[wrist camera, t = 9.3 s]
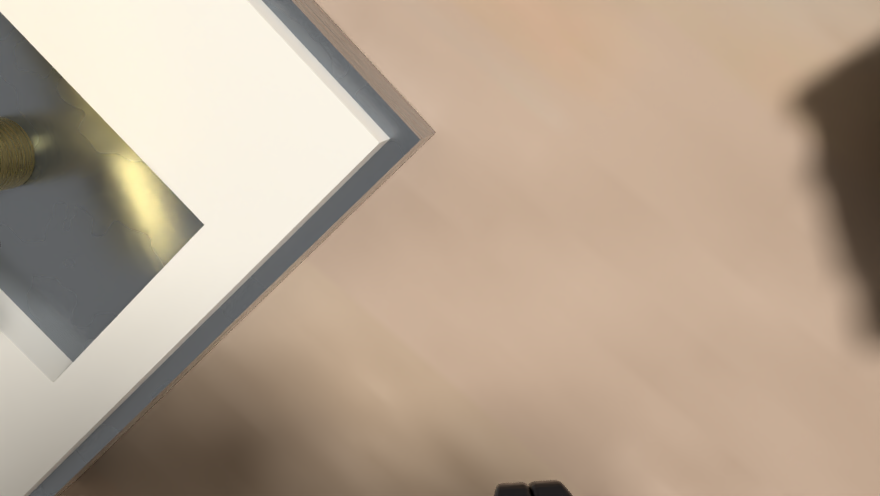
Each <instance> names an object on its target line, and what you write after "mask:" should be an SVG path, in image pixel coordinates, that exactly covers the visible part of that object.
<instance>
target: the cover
mask: <svg viewBox="0 0 880 496" xmlns="http://www.w3.org/2000/svg"><path fill="white" fill-rule="evenodd" d="M0 12H1V13H2V14H3V15H4V16H5V17H6V18H7V19H8V20H9V21H10V22H11V23H12V24H13V26H14V27H15V28H16V29H17V30H18V31H19V32H20V33H21V34H22V35H23V36H24V37H25V38H26V39H27V40H28V41H29V42H30V43H31V44H32V45H33V46H34V47H35V49H36V50H37V51H38V52H39V53H40V54H41V55H42V56H43V57H44V58H45V59H46V60H47V61H48V62H49V63H50V64H51V65H52V66H53V67H54V68H55V69H56V70H57V71H58V73H59V74H60V75H61V76H62V77H63V78H64V79H65V80H66V81H67V82H68V83H69V84H70V85H71V86H72V87H73V88H74V89H75V90H76V91H77V92H78V93H79V94H80V95H81V97H82V98H83V99H84V100H85V101H86V102H87V103H88V104H89V105H90V106H91V107H92V108H93V109H94V110H95V111H96V112H97V113H98V114H99V115H100V116H101V117H102V118H103V120H104V121H105V122H106V123H107V124H108V125H109V126H110V127H111V128H112V129H113V130H114V131H115V132H116V133H117V134H118V135H119V136H120V137H121V138H122V139H123V140H124V141H125V142H126V144H127V145H128V146H129V147H130V148H131V149H132V150H133V151H134V152H135V153H136V154H137V155H138V156H139V157H140V158H141V159H142V160H143V161H144V162H145V163H146V164H147V165H148V166H149V168H150V169H151V170H152V171H153V172H154V173H155V174H156V175H157V176H158V177H159V178H160V179H161V180H162V181H163V182H164V183H165V184H166V185H167V186H168V187H169V188H170V189H171V190H172V192H173V193H174V194H175V195H176V196H177V197H178V198H179V199H180V200H181V201H182V202H183V203H184V204H185V205H186V206H187V207H188V208H189V209H190V210H191V211H192V212H193V213H194V215H195V216H196V217H197V218H198V219H199V220H200V221H201V222H202V223H203V224H204V226H203V227H202V228H201V229H200V230H199V231H198V232H197V233H196V234H195V235H194V236H193V237H192V238H191V239H190V240H189V241H188V242H187V243H186V245H185V246H184V247H183V248H182V249H181V250H180V251H179V252H178V253H177V254H176V255H175V256H174V257H173V258H172V259H171V260H170V261H169V262H168V263H167V264H166V265H165V267H164V268H163V269H162V270H161V271H160V272H159V273H158V274H157V275H156V276H155V277H154V278H153V279H152V280H151V281H150V282H149V283H148V284H147V285H146V286H145V287H144V289H143V290H142V291H141V292H140V293H139V294H138V295H137V296H136V297H135V298H134V299H133V300H132V301H131V302H130V303H129V304H128V305H127V306H126V307H125V308H124V309H123V311H122V312H121V313H120V314H119V315H118V316H117V317H116V318H115V319H114V320H113V321H112V322H111V323H110V324H109V325H108V326H107V327H106V328H105V329H104V330H103V331H102V333H101V334H100V335H99V336H98V337H97V338H96V339H95V340H94V341H93V342H92V343H91V344H90V345H89V346H88V347H87V348H86V349H85V350H84V351H83V352H82V353H81V354H80V356H79V357H78V358H77V359H76V360H75V361H74V362H72V361H71V360H70V359H69V358H68V357H67V356H66V355H65V354H64V353H63V352H62V351H61V350H60V349H59V348H58V347H57V346H56V345H55V344H54V343H53V342H52V341H51V340H50V339H49V338H48V337H47V336H46V335H45V334H44V332H43V331H42V330H41V329H40V328H39V327H38V326H37V325H36V324H35V323H34V322H33V321H32V320H31V319H30V318H29V317H28V316H27V315H26V314H25V313H24V312H23V311H22V310H21V309H20V308H19V307H18V306H17V305H16V304H15V303H14V302H13V301H12V300H11V299H10V298H9V297H8V296H7V295H6V294H5V293H4V292H3V291H2V290H1V289H0V496H29V495H30V494H31V493H32V492H33V491H34V490H35V489H36V488H37V487H38V486H39V485H40V484H41V483H42V482H43V481H44V480H45V479H46V478H47V477H48V476H49V475H50V474H51V473H52V472H53V471H54V470H55V469H56V468H57V467H58V466H59V465H60V464H61V463H62V462H63V461H64V460H65V459H66V458H67V457H68V456H69V455H70V454H72V453H73V452H74V451H75V450H76V449H77V448H78V447H79V446H80V445H81V444H82V443H83V442H84V441H85V440H86V439H87V438H88V437H89V436H90V435H91V434H92V433H93V432H94V431H95V430H96V429H97V428H98V427H99V426H100V425H101V424H102V423H103V422H104V421H105V420H106V419H107V418H108V417H109V416H110V415H111V414H112V413H113V412H114V411H115V410H116V409H117V408H118V407H119V406H120V405H121V404H122V403H123V402H124V401H125V400H126V399H127V398H128V397H129V396H130V395H131V394H132V393H133V392H134V391H135V390H136V389H137V388H138V387H139V386H140V385H141V384H142V383H143V382H144V381H145V380H146V379H147V378H148V377H149V376H150V375H151V374H153V373H154V372H155V371H156V370H157V369H158V368H159V367H160V366H161V365H162V364H163V363H164V362H165V361H166V360H167V359H168V358H169V357H170V356H171V355H172V354H173V353H174V352H175V351H176V350H177V349H178V348H179V347H180V346H181V345H182V344H183V343H184V342H185V341H186V340H187V339H188V338H189V337H190V336H191V335H192V334H193V333H194V332H195V331H196V330H197V329H198V328H199V327H200V326H201V325H202V324H203V323H204V322H205V321H206V320H207V319H208V318H209V317H210V316H211V315H212V314H213V313H214V312H215V311H216V310H217V309H218V308H219V307H220V306H221V305H222V304H223V303H224V302H225V301H226V300H227V299H228V298H229V297H230V296H231V295H232V294H234V293H235V292H236V291H237V290H238V289H239V288H240V287H241V286H242V285H243V284H244V283H245V282H246V281H247V280H248V279H249V278H250V277H251V276H252V275H253V274H254V273H255V272H256V271H257V270H258V269H259V268H260V267H261V266H262V265H263V264H264V263H265V262H266V261H267V260H268V259H269V258H270V257H271V256H272V255H273V254H274V253H275V252H276V251H277V250H278V249H279V248H280V247H281V246H282V245H283V244H284V243H285V242H286V241H287V240H288V239H289V238H290V237H291V236H292V235H293V234H294V233H295V232H296V231H297V230H298V229H299V228H300V227H301V226H302V225H303V224H304V223H305V222H306V221H307V220H308V219H309V218H310V217H311V216H312V215H313V214H314V213H316V212H317V211H318V210H319V209H320V208H321V207H322V206H323V205H324V204H325V203H326V202H327V201H328V200H329V199H330V198H331V197H332V196H333V195H334V194H335V193H336V192H337V191H338V190H339V189H340V188H341V187H342V186H343V185H344V184H345V183H346V182H347V181H348V180H349V179H350V178H351V177H352V176H353V175H354V174H355V173H356V172H357V171H358V170H359V169H360V168H361V167H362V166H363V165H364V164H365V163H366V162H367V161H368V160H369V159H370V158H371V157H372V156H373V155H374V154H375V153H376V152H377V151H378V150H379V149H380V148H381V147H382V146H383V145H384V144H385V143H386V142H387V141H388V140H389V139H390V138H389V137H388V136H387V135H386V133H385V132H384V131H383V130H382V129H381V128H380V127H379V126H378V125H377V124H376V123H375V122H374V121H373V119H372V118H371V117H370V116H369V115H368V114H367V113H366V112H365V111H364V110H363V109H362V108H361V107H360V105H359V104H358V103H357V102H356V101H355V100H354V99H353V98H352V97H351V96H350V95H349V94H348V93H347V91H346V90H345V89H344V88H343V87H342V86H341V85H340V84H339V83H338V82H337V81H336V80H335V79H334V77H333V76H332V75H331V74H330V73H329V72H328V71H327V70H326V69H325V68H324V67H323V66H322V65H321V63H320V62H319V61H318V60H317V59H316V58H315V57H314V56H313V55H312V54H311V53H310V52H309V51H308V49H307V48H306V47H305V46H304V45H303V44H302V43H301V42H300V41H299V40H298V39H297V38H296V37H295V35H294V34H293V33H292V32H291V31H290V30H289V29H288V28H287V27H286V26H285V25H284V24H283V23H282V21H281V20H280V19H279V18H278V17H277V16H276V15H275V14H274V13H273V12H272V11H271V10H270V9H269V7H268V6H267V5H266V4H265V3H264V2H263V1H262V0H0Z"/></svg>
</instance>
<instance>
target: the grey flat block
mask: <svg viewBox="0 0 880 496" xmlns="http://www.w3.org/2000/svg"><path fill="white" fill-rule="evenodd" d="M262 1H263V2H264V3H265V4H266V5H267V6H268V7H269V9H270V10H271V11H272V12H273V13H274V14H275V15H276V16H277V17H278V18H279V19H280V20H281V21H282V23H283V24H284V25H285V26H286V27H287V28H288V29H289V30H290V31H291V32H292V33H293V34H294V35H295V37H296V38H297V39H298V40H299V41H300V42H301V43H302V44H303V45H304V46H305V47H306V48H307V49H308V51H309V52H310V53H311V54H312V55H313V56H314V57H315V58H316V59H317V60H318V61H319V62H320V63H321V65H322V66H323V67H324V68H325V69H326V70H327V71H328V72H329V73H330V74H331V75H332V76H333V77H334V79H335V80H336V81H337V82H338V83H339V84H340V85H341V86H342V87H343V88H344V89H345V90H346V91H347V93H348V94H349V95H350V96H351V97H352V98H353V99H354V100H355V101H356V102H357V103H358V104H359V105H360V107H361V108H362V109H363V110H364V111H365V112H366V113H367V114H368V115H369V116H370V117H371V118H372V119H373V121H374V122H375V123H376V124H377V125H378V126H379V127H380V128H381V129H382V130H383V131H384V132H385V133H386V135H387V136H388V137H389V138H390V139H389V140H388V141H387V142H386V143H385V144H384V145H383V146H382V147H381V148H380V149H379V150H378V151H377V152H376V153H375V154H374V155H373V156H372V157H371V158H370V159H369V160H368V161H367V162H366V163H365V164H364V165H363V166H362V167H361V168H360V169H359V170H358V171H357V172H356V173H355V174H354V175H353V176H352V177H351V178H350V179H349V180H348V181H347V182H346V183H345V184H344V185H343V186H342V187H341V188H340V189H339V190H338V191H337V192H336V193H335V194H334V195H333V196H332V197H331V198H330V199H329V200H328V201H327V202H326V203H325V204H324V205H323V206H322V207H321V208H320V209H319V210H318V211H317V212H316V213H314V214H313V215H312V216H311V217H310V218H309V219H308V220H307V221H306V222H305V223H304V224H303V225H302V226H301V227H300V228H299V229H298V230H297V231H296V232H295V233H294V234H293V235H292V236H291V237H290V238H289V239H288V240H287V241H286V242H285V243H284V244H283V245H282V246H281V247H280V248H279V249H278V250H277V251H276V252H275V253H274V254H273V255H272V256H271V257H270V258H269V259H268V260H267V261H266V262H265V263H264V264H263V265H262V266H261V267H260V268H259V269H258V270H257V271H256V272H255V273H254V274H253V275H252V276H251V277H250V278H249V279H248V280H247V281H246V282H245V283H244V284H243V285H242V286H241V287H240V288H239V289H238V290H237V291H236V292H235V293H234V294H232V295H231V296H230V297H229V298H228V299H227V300H226V301H225V302H224V303H223V304H222V305H221V306H220V307H219V308H218V309H217V310H216V311H215V312H214V313H213V314H212V315H211V316H210V317H209V318H208V319H207V320H206V321H205V322H204V323H203V324H202V325H201V326H200V327H199V328H198V329H197V330H196V331H195V332H194V333H193V334H192V335H191V336H190V337H189V338H188V339H187V340H186V341H185V342H184V343H183V344H182V345H181V346H180V347H179V348H178V349H177V350H176V351H175V352H174V353H173V354H172V355H171V356H170V357H169V358H168V359H167V360H166V361H165V362H164V363H163V364H162V365H161V366H160V367H159V368H158V369H157V370H156V371H155V372H154V373H153V374H151V375H150V376H149V377H148V378H147V379H146V380H145V381H144V382H143V383H142V384H141V385H140V386H139V387H138V388H137V389H136V390H135V391H134V392H133V393H132V394H131V395H130V396H129V397H128V398H127V399H126V400H125V401H124V402H123V403H122V404H121V405H120V406H119V407H118V408H117V409H116V410H115V411H114V412H113V413H112V414H111V415H110V416H109V417H108V418H107V419H106V420H105V421H104V422H103V423H102V424H101V425H100V426H99V427H98V428H97V429H96V430H95V431H94V432H93V433H92V434H91V435H90V436H89V437H88V438H87V439H86V440H85V441H84V442H83V443H82V444H81V445H80V446H79V447H78V448H77V449H76V450H75V451H74V452H73V453H72V454H70V455H69V456H68V457H67V458H66V459H65V460H64V461H63V462H62V463H61V464H60V465H59V466H58V467H57V468H56V469H55V470H54V471H53V472H52V473H51V474H50V475H49V476H48V477H47V478H46V479H45V480H44V481H43V482H42V483H41V484H40V485H39V486H38V487H37V488H36V489H35V490H34V491H33V492H32V493H31V494H30V495H29V496H58V495H59V494H60V493H62V492H63V491H64V490H65V489H66V488H68V487H69V486H70V485H71V484H72V483H74V482H75V481H76V480H77V479H78V478H79V477H80V476H81V475H82V474H83V473H84V472H85V471H86V470H87V469H88V468H89V467H90V466H91V465H92V464H93V463H94V462H95V461H97V460H98V459H99V458H100V457H101V456H102V455H103V454H104V453H105V452H106V451H107V450H108V449H109V448H110V447H111V446H112V445H113V444H114V443H115V442H116V441H117V440H118V439H119V438H120V437H121V436H122V435H123V434H124V433H125V432H127V431H128V430H129V429H130V428H131V427H132V426H133V425H134V424H135V423H136V422H137V421H138V420H139V419H140V418H141V417H142V416H143V415H144V414H145V413H146V412H147V411H148V410H149V409H150V408H151V407H152V406H153V405H154V404H155V403H157V402H158V401H159V400H160V399H161V398H162V397H163V396H164V395H165V394H166V393H167V392H168V391H169V390H170V389H171V388H172V387H173V386H174V385H175V384H176V383H177V382H178V381H179V380H180V379H181V378H182V377H183V376H184V375H185V374H186V373H188V372H189V371H190V370H191V369H192V368H193V367H194V366H195V365H196V364H197V363H198V362H199V361H200V360H201V359H202V358H203V357H204V356H205V355H206V354H207V353H208V352H209V351H210V350H211V349H212V348H213V347H214V346H215V345H216V344H218V343H219V342H220V341H221V340H222V339H223V338H224V337H225V336H226V335H227V334H228V333H229V332H230V331H231V330H232V329H233V328H234V327H235V326H236V325H237V324H238V323H239V322H240V321H241V320H242V319H243V318H244V317H245V316H246V315H248V314H249V313H250V312H251V311H252V310H253V309H254V308H255V307H256V306H257V305H258V304H259V303H260V302H261V301H262V300H263V299H264V298H265V297H266V296H267V295H268V294H269V293H270V292H271V291H272V290H273V289H274V288H275V287H276V286H278V285H279V284H280V283H281V282H282V281H283V280H284V279H285V278H286V277H287V276H288V275H289V274H290V273H291V272H292V271H293V270H294V269H295V268H296V267H297V266H298V265H299V264H300V263H301V262H302V261H303V260H304V259H305V258H306V257H308V256H309V255H310V254H311V253H312V252H313V251H314V250H315V249H316V248H317V247H318V246H319V245H320V244H321V243H322V242H323V241H324V240H325V239H326V238H327V237H328V236H329V235H330V234H331V233H332V232H333V231H334V230H335V229H336V228H338V227H339V226H340V225H341V224H342V223H343V222H344V221H345V220H346V219H347V218H348V217H349V216H350V215H351V214H352V213H353V212H354V211H355V210H356V209H357V208H358V207H359V206H360V205H361V204H362V203H363V202H364V201H365V200H366V199H367V198H369V197H370V196H371V195H372V194H373V193H374V192H375V191H376V190H377V189H378V188H379V187H380V186H381V185H382V184H383V183H384V182H385V181H386V180H387V179H388V178H389V177H390V176H391V175H392V174H393V173H394V172H395V171H396V170H397V169H399V168H400V167H401V166H402V165H403V164H404V163H405V162H406V161H407V160H408V159H409V158H410V157H411V156H412V155H413V154H414V153H415V152H416V151H417V150H418V149H419V148H420V147H421V146H422V145H423V144H424V143H425V142H426V141H427V140H429V139H430V138H431V137H432V136H433V135H434V134H435V133H436V132H435V131H434V130H433V129H432V128H431V127H430V126H429V125H428V123H427V122H426V121H425V120H424V119H423V118H422V117H421V116H420V115H419V114H418V113H417V112H416V110H415V109H414V108H413V107H412V106H411V105H410V104H409V103H408V102H407V101H406V100H405V99H404V97H403V96H402V95H401V94H400V93H399V92H398V91H397V90H396V89H395V88H394V87H393V86H392V84H391V83H390V82H389V81H388V80H387V79H386V78H385V77H384V76H383V75H382V74H381V73H380V72H379V70H378V69H377V68H376V67H375V66H374V65H373V64H372V63H371V62H370V61H369V60H368V59H367V57H366V56H365V55H364V54H363V53H362V52H361V51H360V50H359V49H358V48H357V47H356V46H355V44H354V43H353V42H352V41H351V40H350V39H349V38H348V37H347V36H346V35H345V34H344V33H343V31H342V30H341V29H340V28H339V27H338V26H337V25H336V24H335V23H334V22H333V21H332V20H331V18H330V17H329V16H328V15H327V14H326V13H325V12H324V11H323V10H322V9H321V8H320V7H319V5H318V4H317V3H316V2H315V1H314V0H262ZM0 117H5V118H8V119H10V120H12V121H14V122H15V123H17V124H18V125H19V126H21V127H22V128H23V129H24V131H25V132H26V133H27V135H28V136H29V138H30V140H31V142H32V145H33V148H34V154H35V164H34V169H33V172H32V174H31V176H30V177H29V179H28V180H27V181H26V182H25V183H24V184H22V185H20V186H18V187H15V188H11V189H7V190H2V191H0V289H1V290H2V291H3V292H4V293H5V294H6V295H7V296H8V297H9V298H10V299H11V300H12V301H13V302H14V303H15V304H16V305H17V306H18V307H19V308H20V309H21V310H22V311H23V312H24V313H25V314H26V315H27V316H28V317H29V318H30V319H31V320H32V321H33V322H34V323H35V324H36V325H37V326H38V327H39V328H40V329H41V330H42V331H43V332H44V334H45V335H46V336H47V337H48V338H49V339H50V340H51V341H52V342H53V343H54V344H55V345H56V346H57V347H58V348H59V349H60V350H61V351H62V352H63V353H64V354H65V355H66V356H67V357H68V358H69V359H70V360H71V361H72V362H74V361H75V360H76V359H77V358H78V357H79V356H80V354H81V353H82V352H83V351H84V350H85V349H86V348H87V347H88V346H89V345H90V344H91V343H92V342H93V341H94V340H95V339H96V338H97V337H98V336H99V335H100V334H101V333H102V331H103V330H104V329H105V328H106V327H107V326H108V325H109V324H110V323H111V322H112V321H113V320H114V319H115V318H116V317H117V316H118V315H119V314H120V313H121V312H122V311H123V309H124V308H125V307H126V306H127V305H128V304H129V303H130V302H131V301H132V300H133V299H134V298H135V297H136V296H137V295H138V294H139V293H140V292H141V291H142V290H143V289H144V287H145V286H146V285H147V284H148V283H149V282H150V281H151V280H152V279H153V278H154V277H155V276H156V275H157V274H158V273H159V272H160V271H161V270H162V269H163V268H164V267H165V265H166V264H167V263H168V262H169V261H170V260H171V259H172V258H173V257H174V256H175V255H176V254H177V253H178V252H179V251H180V250H181V249H182V248H183V247H184V246H185V245H186V243H187V242H188V241H189V240H190V239H191V238H192V237H193V236H194V235H195V234H196V233H197V232H198V231H199V230H200V229H201V228H202V227H203V226H204V224H203V223H202V222H201V221H200V220H199V219H198V218H197V217H196V216H195V215H194V213H193V212H192V211H191V210H190V209H189V208H188V207H187V206H186V205H185V204H184V203H183V202H182V201H181V200H180V199H179V198H178V197H177V196H176V195H175V194H174V193H173V192H172V190H171V189H170V188H169V187H168V186H167V185H166V184H165V183H164V182H163V181H162V180H161V179H160V178H159V177H158V176H157V175H156V174H155V173H154V172H153V171H152V170H151V169H150V168H149V166H148V165H147V164H146V163H145V162H144V161H143V160H142V159H141V158H140V157H139V156H138V155H137V154H136V153H135V152H134V151H133V150H132V149H131V148H130V147H129V146H128V145H127V144H126V142H125V141H124V140H123V139H122V138H121V137H120V136H119V135H118V134H117V133H116V132H115V131H114V130H113V129H112V128H111V127H110V126H109V125H108V124H107V123H106V122H105V121H104V120H103V118H102V117H101V116H100V115H99V114H98V113H97V112H96V111H95V110H94V109H93V108H92V107H91V106H90V105H89V104H88V103H87V102H86V101H85V100H84V99H83V98H82V97H81V95H80V94H79V93H78V92H77V91H76V90H75V89H74V88H73V87H72V86H71V85H70V84H69V83H68V82H67V81H66V80H65V79H64V78H63V77H62V76H61V75H60V74H59V73H58V71H57V70H56V69H55V68H54V67H53V66H52V65H51V64H50V63H49V62H48V61H47V60H46V59H45V58H44V57H43V56H42V55H41V54H40V53H39V52H38V51H37V50H36V49H35V47H34V46H33V45H32V44H31V43H30V42H29V41H28V40H27V39H26V38H25V37H24V36H23V35H22V34H21V33H20V32H19V31H18V30H17V29H16V28H15V27H14V26H13V24H12V23H11V22H10V21H9V20H8V19H7V18H6V17H5V16H4V15H3V14H2V13H1V12H0Z"/></svg>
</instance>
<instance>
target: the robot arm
mask: <svg viewBox="0 0 880 496" xmlns="http://www.w3.org/2000/svg"><path fill="white" fill-rule="evenodd" d="M494 496H572V494H571V493H570V492H569V491H568V489H567V488H566V487H565V486H564V485H563V484H562V483H561V482H559V481H556V480H550V481H534V482H531V483H530V484H529V486H528V485H527V484H525V483H523V482H519V483H503V484H499V485H497V487H496V489H495V494H494Z"/></svg>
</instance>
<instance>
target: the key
mask: <svg viewBox="0 0 880 496" xmlns="http://www.w3.org/2000/svg"><path fill="white" fill-rule="evenodd" d="M34 164H35V154H34V148H33V145H32V142H31V140H30V138H29V136H28V135H27V133H26V132H25V131H24V129H23V128H22V127H21V126H19V125H18V124H17V123H15V122H14V121H12V120H10V119H8V118H5V117H0V191H2V190H7V189H11V188H15V187H18V186H20V185H22V184H24V183H25V182H26V181H27V180H28V179H29V177H30V176H31V174H32V172H33V169H34Z"/></svg>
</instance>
